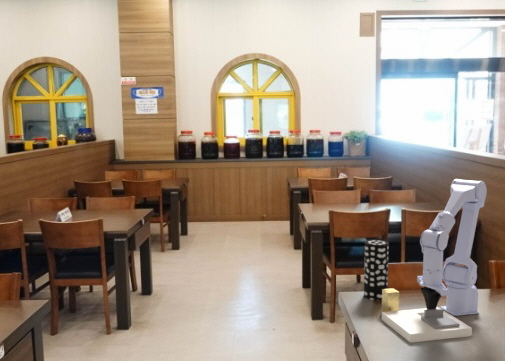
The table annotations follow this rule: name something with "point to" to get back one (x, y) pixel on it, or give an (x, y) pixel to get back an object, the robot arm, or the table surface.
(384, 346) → the table surface
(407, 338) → the socket base
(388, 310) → the peg
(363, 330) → the table surface
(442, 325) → the panel
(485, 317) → the table surface
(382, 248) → the white-spotted black cylinder
